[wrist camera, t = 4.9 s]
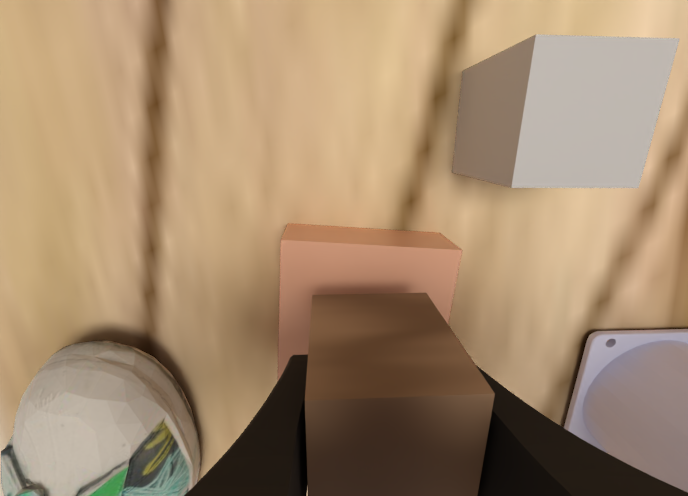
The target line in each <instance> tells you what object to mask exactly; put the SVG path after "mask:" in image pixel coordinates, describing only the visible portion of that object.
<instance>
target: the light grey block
mask: <svg viewBox="0 0 688 496" xmlns="http://www.w3.org/2000/svg"><path fill="white" fill-rule="evenodd" d="M678 42H679V39H676V38H640V37H604V36H568V35H534V36H532V37H530V38H528V39H526V40H524V41H522V42H520V43H518V44H516V45H514V46H512V47H510V48H508V49H506V50H504V51H502V52H500V53H498V54H496V55H494V56H492V57H490V58H488V59H486V60H484V61H482V62H480V63H478V64H475V65H473V66H471V67H469V68H467V69H465V70H463V72H462V81H461V91H460V100H459V110H458V119H457V129H456V138H455V148H454V157H453V166H452V172H453V173H457V174H460V175H464V176H468V177H472V178H476V179H480V180H483V181H487V182H491V183H495V184H499V185H503V186H506V187H510V188H639V184H640V180H641V177H642V173H643V169H644V166H645V162H646V159H647V155H648V151H649V148H650V144H651V140H652V137H653V133H654V129H655V126H656V122H657V119H658V115H659V111H660V108H661V104H662V100H663V97H664V93H665V90H666V86H667V82H668V79H669V75H670V71H671V68H672V64H673V61H674V57H675V53H676V50H677V46H678Z"/></svg>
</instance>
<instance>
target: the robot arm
mask: <svg viewBox="0 0 688 496" xmlns="http://www.w3.org/2000/svg"><path fill="white" fill-rule="evenodd" d="M608 340H609V341H608ZM307 362H308V354H306V355H293V356H291V357H290V359H289V361H288V363H287V365H286V368H285V370H284V371H283V373H282V375H281V377H280V379H279V380H278V382H277V384H276V386H275V387H274V389H273V390H272V392H271V393H270V395H269V397H268V398H267V400H266V401H265V403H264V404H263V406H262V407H261V409H260V410H259V411H258V413H257V414H256V415H255V417H254V418H253V420H252V421H251V422H250V424H249V425H248V426H247V428H246V429H245V430H244V432H243V433H242V434H241V435H240V437H239V438H238V439H237V440H236V441H235V443H234V444H233V445H232V446H231V447H230V448H229V450H228V451H227V452H226V453H225V454H224V455H223V456H222V458H221V459H220V460H219V461H218V462H217V463H216V464H215V465H214V466H213V467H212V468H211V469H210V470H209V471H208V472H207V474H206V475H205V476H204V477H203V478H202V479H201V480H200V481H199V482H198V483H197V484H196V485H195V486H194V487H193V488H192V489H191V490H189V491H188V492H187V493H186V494H185V495H184V496H306V493H307V485H308V480H307V451H306V423H305V390H306V376H307ZM476 367H477V366H476ZM477 368H478V370H479V371H480V372H481V374H482V375H483V377H484V378H485V380H486V381H487V383H488V384H489V386H490V387H491V389H492V390H493V392H494V393H495V396H494V402H493V408H492V414H491V419H490V425H489V431H488V437H487V443H486V448H485V454H484V460H483V466H482V472H481V477H480V483H479V489H478V495H477V496H688V329H665V330H624V331H597V332H594V333H592V334H590V335H589V337H588V339H587V342H586V346H585V350H584V353H583V357H582V361H581V365H580V368H579V372H578V376H577V380H576V384H575V387H574V391H573V395H572V399H571V402H570V406H569V410H568V414H567V418H566V421H565V425H564V428H563V427H561V426H559V425H558V424H556V423H555V422H553V421H551V420H550V419H548V418H547V417H545V416H544V415H542V414H541V413H539V412H538V411H537V410H535V409H534V408H532V407H531V406H529V405H528V404H526V403H525V402H523V401H522V400H521V399H519V398H518V397H517V396H515V395H514V394H512V393H511V392H510V391H508V390H507V389H506V388H504V387H503V386H502V385H500V384H499V383H498V382H497V381H495V380H494V379H493V378H491V377H490V376H489V375H488V374H486V373H485V372H484V371H483V370H481V369H480V368H479V367H477ZM608 453H609V454H608Z"/></svg>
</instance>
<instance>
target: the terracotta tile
mask: <svg viewBox="0 0 688 496" xmlns="http://www.w3.org/2000/svg"><path fill="white" fill-rule="evenodd" d="M461 254H462V250H461V249H460V248H459V247H457V246H456V245H455V244H454V243H452V242H451V241H450V240H448V239H447V238H446V237H445V236H443V235H442V234H441V233H434V232H418V231H402V230H386V229H370V228H354V227H337V226H321V225H305V224H289V223H288V224H287V227H286V229H285V231H284V234H283V236H282V238H281V253H280V297H279V341H278V380H279V379H280V377H281V375H282V373H283V371H284V370H285V368H286V365H287V363H288V361H289V359H290V357H291V356H293V355H306V354H308V349H309V335H310V321H311V307H312V295H327V294H380V293H427V294H428V296H429V297H430V299H431V300H432V302H433V303H434V305H435V306H436V308H437V309H438V311H439V312H440V314H441V315H442V317H443V318H444V319H445V321H446V322H447V324H448V322H449V317H450V312H451V307H452V301H453V296H454V291H455V286H456V280H457V275H458V270H459V265H460V259H461Z"/></svg>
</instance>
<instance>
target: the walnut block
mask: <svg viewBox="0 0 688 496" xmlns="http://www.w3.org/2000/svg"><path fill="white" fill-rule="evenodd" d="M494 396H495V393H494V392H493V390H492V389H491V387H490V386H489V384H488V383H487V381H486V380H485V378H484V377H483V375H482V374H481V372H480V371H479V370H478V368H477V367H476V365H475V364H474V362H473V361H472V359H471V358H470V356H469V355H468V353H467V352H466V350H465V349H464V347H463V346H462V344H461V343H460V342H459V340H458V339H457V337H456V336H455V334H454V333H453V331H452V330H451V328H450V327H449V325H448V324H447V322H446V321H445V319H444V318H443V317H442V315H441V314H440V312H439V311H438V309H437V308H436V306H435V305H434V303H433V302H432V300H431V299H430V297H429V296H428V294H427V293H380V294H327V295H312V307H311V321H310V335H309V349H308V362H307V376H306V390H305V423H306V451H307V480H308V496H477V495H478V489H479V483H480V477H481V472H482V466H483V460H484V454H485V448H486V443H487V437H488V431H489V425H490V419H491V414H492V408H493V402H494Z"/></svg>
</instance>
